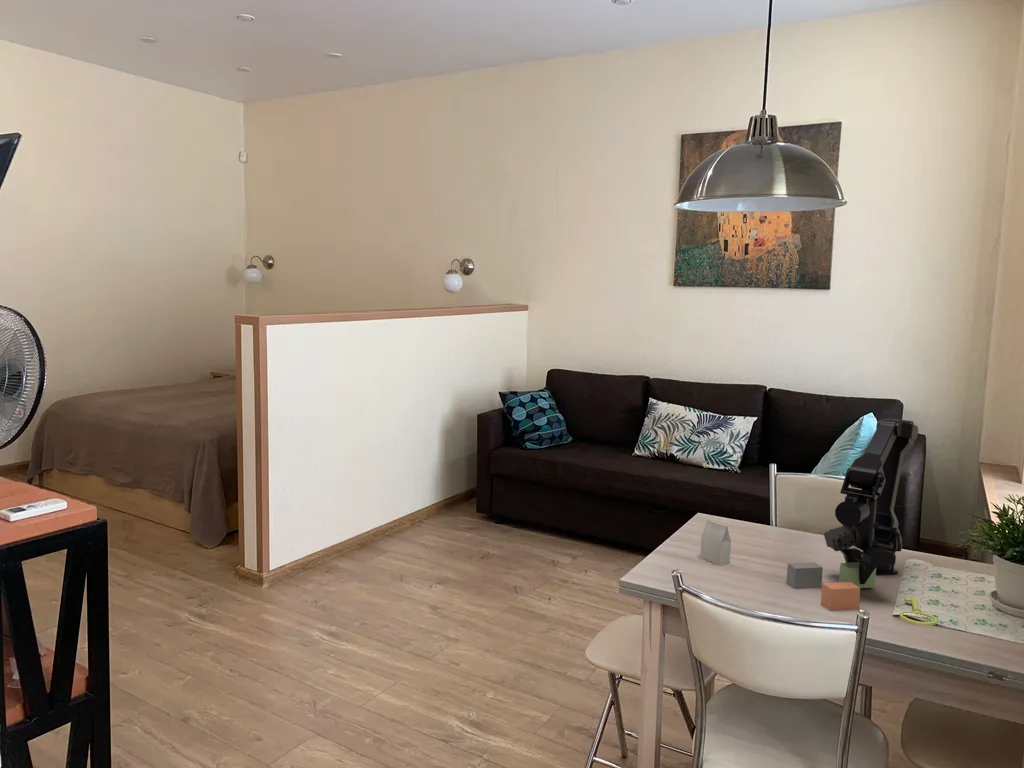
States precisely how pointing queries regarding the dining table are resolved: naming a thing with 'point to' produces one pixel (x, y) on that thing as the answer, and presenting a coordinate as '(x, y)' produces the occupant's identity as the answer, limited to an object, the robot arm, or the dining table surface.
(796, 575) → the gray brick
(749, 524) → the dining table surface
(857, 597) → the rust brick
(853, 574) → the green brick
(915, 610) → the key
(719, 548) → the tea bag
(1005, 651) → the dining table surface
